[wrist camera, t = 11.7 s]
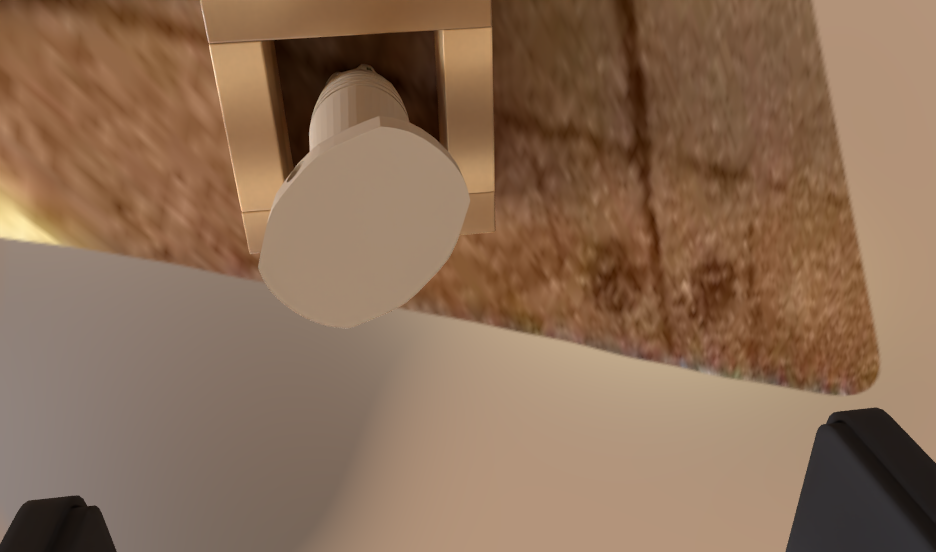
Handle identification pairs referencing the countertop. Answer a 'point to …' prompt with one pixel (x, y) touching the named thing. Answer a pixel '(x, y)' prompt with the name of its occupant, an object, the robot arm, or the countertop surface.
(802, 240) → the countertop surface
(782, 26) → the countertop surface
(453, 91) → the socket block
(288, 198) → the handle
